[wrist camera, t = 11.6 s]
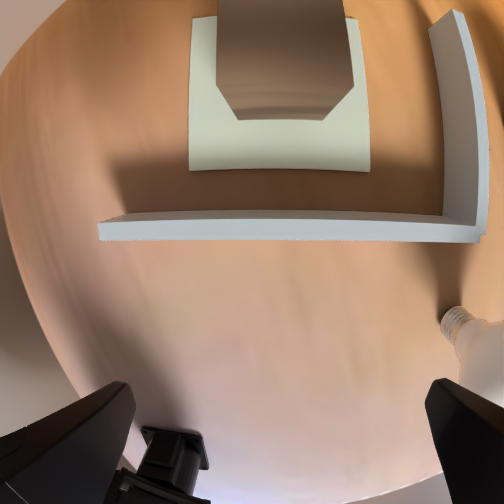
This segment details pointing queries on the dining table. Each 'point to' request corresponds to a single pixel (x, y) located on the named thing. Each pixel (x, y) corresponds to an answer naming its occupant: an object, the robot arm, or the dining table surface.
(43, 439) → the robot arm
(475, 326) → the lightbulb
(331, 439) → the dining table surface
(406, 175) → the dining table surface
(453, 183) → the plastic wall
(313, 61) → the walnut block
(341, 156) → the plate
